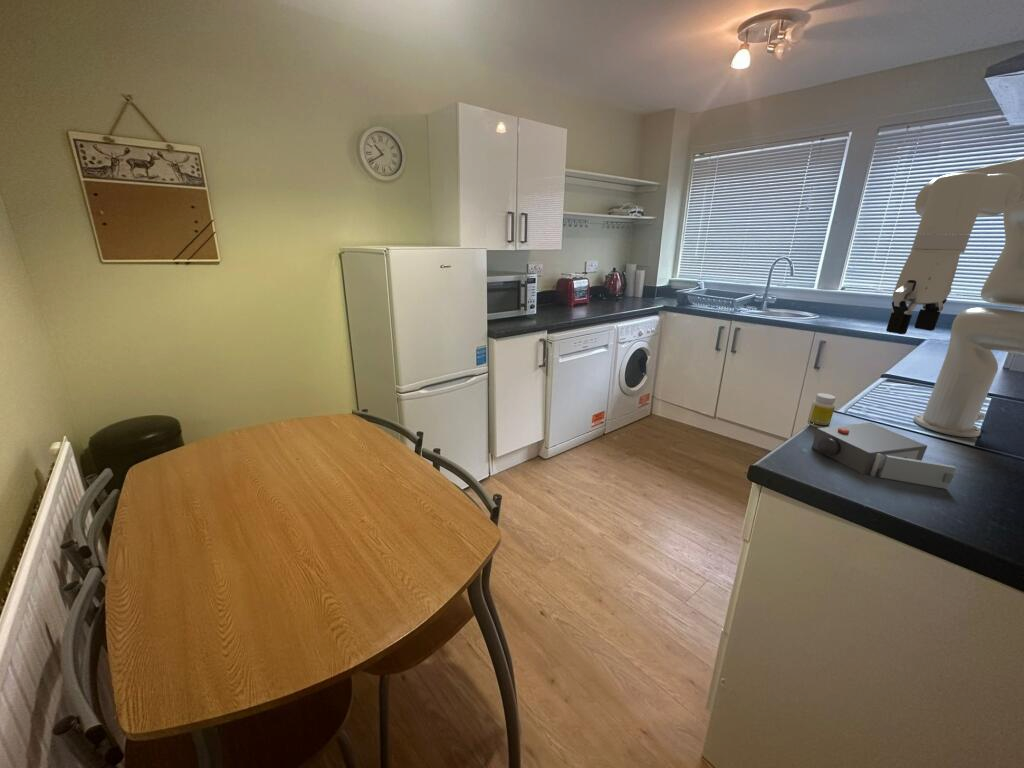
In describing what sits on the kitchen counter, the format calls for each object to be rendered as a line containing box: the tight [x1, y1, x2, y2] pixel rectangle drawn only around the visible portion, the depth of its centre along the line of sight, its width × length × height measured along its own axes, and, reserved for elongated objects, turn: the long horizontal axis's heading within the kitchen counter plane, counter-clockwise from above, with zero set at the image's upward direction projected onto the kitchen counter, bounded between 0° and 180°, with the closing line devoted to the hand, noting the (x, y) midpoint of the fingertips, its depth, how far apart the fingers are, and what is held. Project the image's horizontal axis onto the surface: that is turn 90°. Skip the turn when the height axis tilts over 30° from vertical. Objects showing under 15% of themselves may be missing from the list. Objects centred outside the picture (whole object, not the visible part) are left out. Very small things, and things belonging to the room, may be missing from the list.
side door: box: [878, 455, 957, 490], centre depth 84 cm, size 11×2×5 cm, turn 68°
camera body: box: [811, 422, 928, 477], centre depth 93 cm, size 18×13×6 cm
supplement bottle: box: [807, 392, 836, 429], centre depth 109 cm, size 5×5×8 cm
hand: (909, 331), depth 86 cm, fingers open, 9 cm apart
